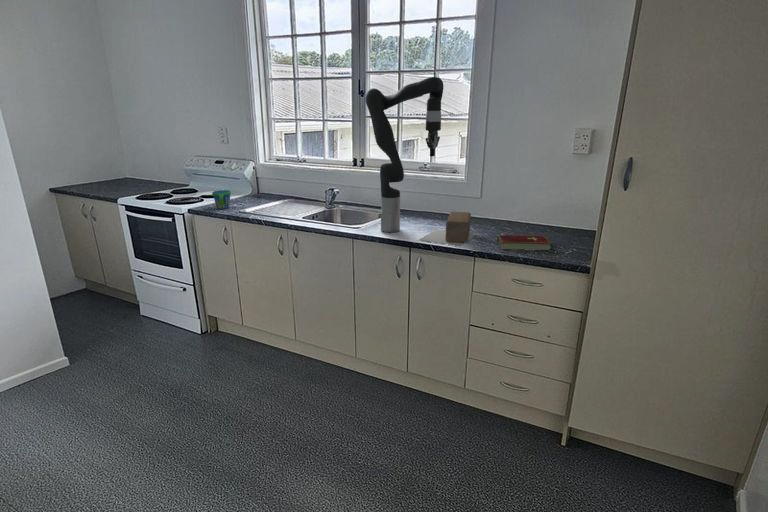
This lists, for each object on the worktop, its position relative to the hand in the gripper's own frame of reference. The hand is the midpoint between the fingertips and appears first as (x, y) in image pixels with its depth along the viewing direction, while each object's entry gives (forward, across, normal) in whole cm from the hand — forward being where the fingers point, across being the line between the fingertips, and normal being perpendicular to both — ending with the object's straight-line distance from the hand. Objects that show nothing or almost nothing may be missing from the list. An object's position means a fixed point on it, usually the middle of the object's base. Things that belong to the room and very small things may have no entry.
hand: (432, 156), depth 229 cm
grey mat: (+35, +21, +18) cm, 45 cm away
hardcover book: (+36, +17, +52) cm, 66 cm away
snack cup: (+35, +27, -125) cm, 133 cm away
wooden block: (+30, +8, +20) cm, 36 cm away
